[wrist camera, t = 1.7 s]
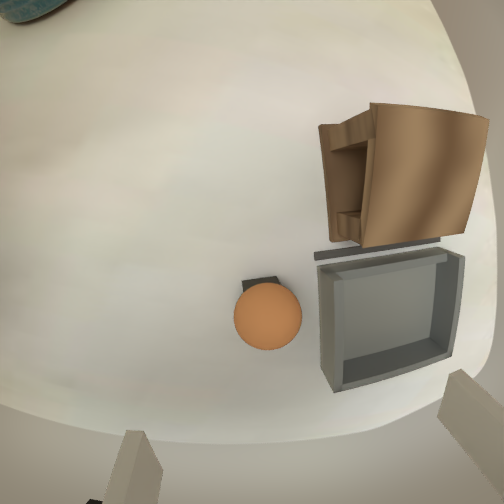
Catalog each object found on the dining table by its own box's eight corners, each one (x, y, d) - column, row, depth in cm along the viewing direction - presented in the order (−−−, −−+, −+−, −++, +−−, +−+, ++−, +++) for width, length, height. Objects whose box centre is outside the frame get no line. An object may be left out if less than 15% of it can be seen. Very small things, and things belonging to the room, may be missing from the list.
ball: (237, 334, 25) (240, 367, 20) (228, 278, 24) (229, 302, 19) (296, 326, 25) (310, 356, 21) (291, 270, 24) (307, 291, 19)
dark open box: (246, 312, 27) (247, 324, 25) (241, 280, 26) (243, 290, 24) (279, 307, 27) (284, 319, 25) (276, 276, 27) (281, 285, 24)
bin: (320, 367, 29) (333, 393, 25) (317, 265, 27) (333, 281, 22) (429, 338, 30) (451, 356, 25) (437, 246, 27) (465, 256, 23)
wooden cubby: (329, 240, 26) (383, 271, 17) (318, 126, 24) (368, 96, 14) (428, 227, 27) (499, 248, 17) (421, 127, 25) (492, 113, 15)
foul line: (314, 260, 27) (315, 260, 26) (314, 252, 26) (314, 252, 26) (439, 241, 27) (440, 241, 27) (439, 234, 27) (440, 234, 27)
